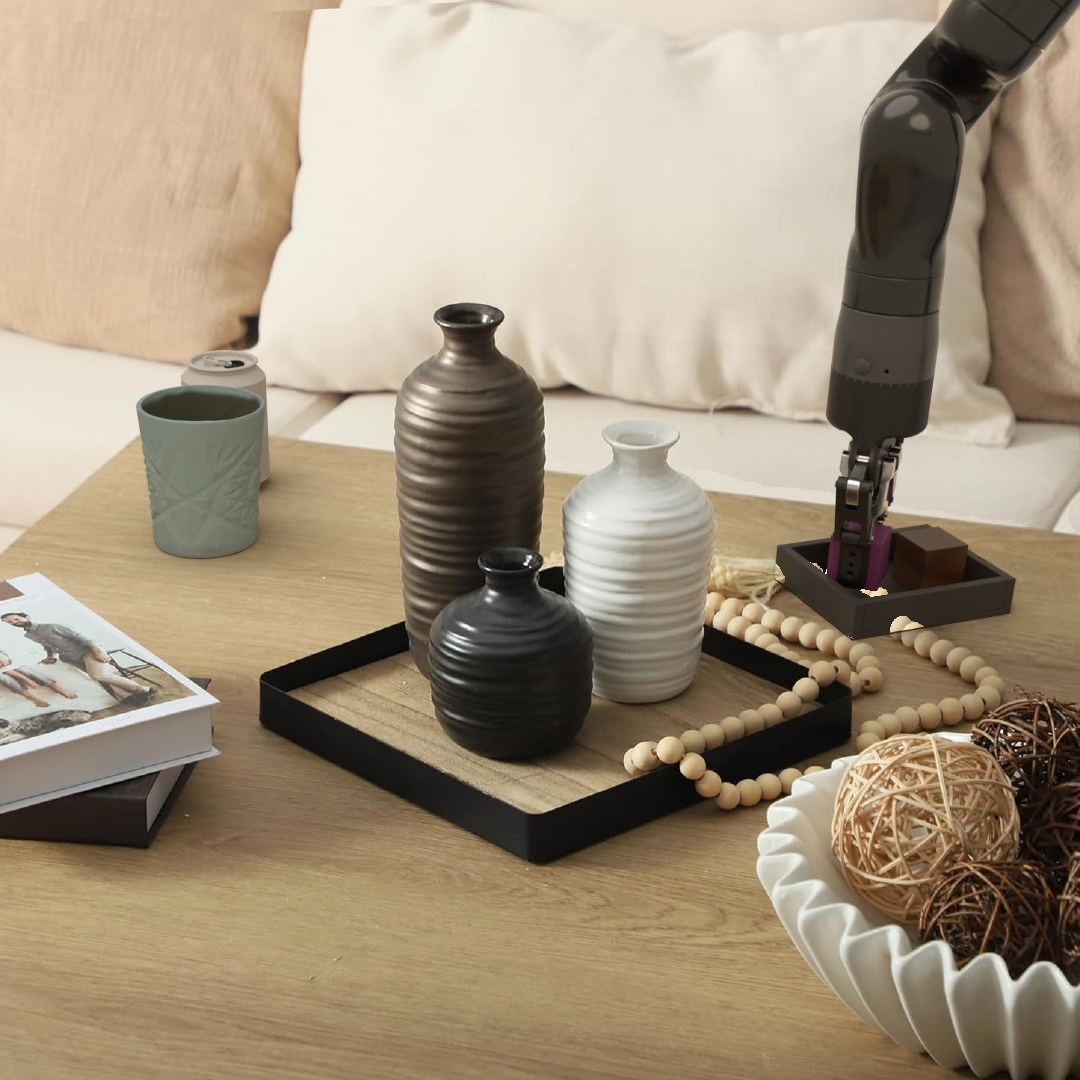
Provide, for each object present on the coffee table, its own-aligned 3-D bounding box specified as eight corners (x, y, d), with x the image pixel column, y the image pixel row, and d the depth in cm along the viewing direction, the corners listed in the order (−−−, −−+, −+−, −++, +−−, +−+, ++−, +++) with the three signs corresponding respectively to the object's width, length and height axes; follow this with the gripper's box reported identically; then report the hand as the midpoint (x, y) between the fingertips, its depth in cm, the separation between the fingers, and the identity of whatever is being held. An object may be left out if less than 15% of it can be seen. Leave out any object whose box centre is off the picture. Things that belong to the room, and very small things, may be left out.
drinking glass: (126, 532, 125) (114, 397, 120) (231, 506, 131) (224, 376, 126) (184, 572, 118) (174, 430, 113) (293, 542, 124) (288, 406, 119)
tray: (922, 555, 125) (927, 523, 124) (1010, 613, 116) (1016, 578, 114) (773, 578, 120) (776, 544, 119) (851, 640, 110) (856, 604, 109)
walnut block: (931, 570, 121) (938, 526, 120) (961, 590, 118) (969, 544, 116) (890, 577, 120) (897, 532, 118) (919, 597, 117) (926, 551, 115)
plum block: (836, 563, 118) (842, 517, 117) (886, 572, 117) (892, 526, 115) (825, 582, 115) (830, 535, 113) (876, 592, 113) (882, 544, 112)
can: (266, 498, 133) (260, 370, 128) (182, 498, 132) (173, 369, 127) (273, 468, 140) (268, 346, 135) (193, 468, 139) (185, 345, 134)
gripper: (917, 398, 102) (887, 621, 108) (949, 347, 114) (920, 551, 120) (810, 382, 104) (787, 601, 111) (852, 335, 116) (830, 535, 123)
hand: (857, 574), depth 116 cm, fingers closed on plum block, 4 cm apart
